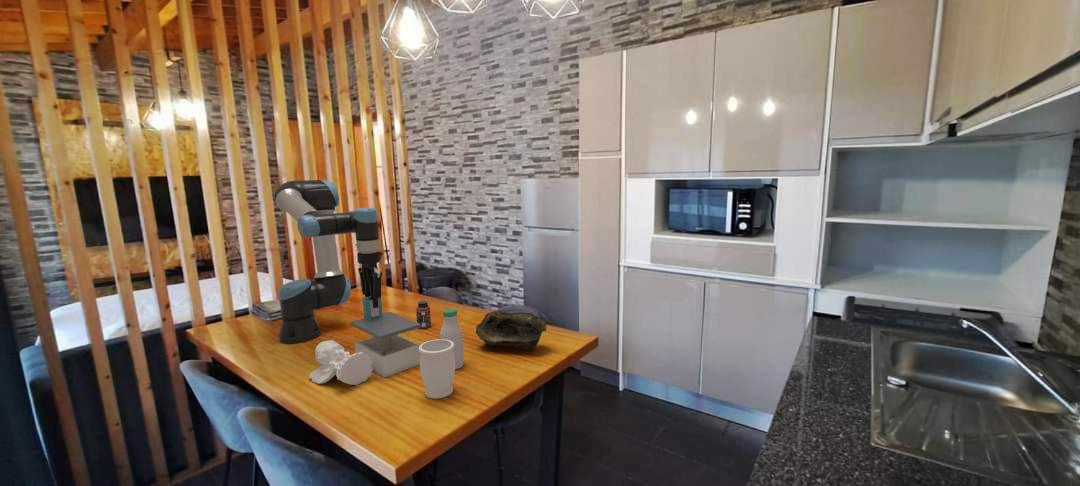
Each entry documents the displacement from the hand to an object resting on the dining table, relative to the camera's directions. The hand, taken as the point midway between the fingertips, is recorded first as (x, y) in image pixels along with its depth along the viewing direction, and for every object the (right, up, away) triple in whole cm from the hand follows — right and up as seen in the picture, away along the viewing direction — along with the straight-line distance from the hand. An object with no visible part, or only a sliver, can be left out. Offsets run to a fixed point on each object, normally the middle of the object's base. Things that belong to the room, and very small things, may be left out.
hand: (373, 315), depth 155 cm
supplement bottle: (+10, -11, +32) cm, 36 cm away
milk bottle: (+30, -17, -7) cm, 35 cm away
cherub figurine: (-5, -19, -15) cm, 24 cm away
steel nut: (+2, -15, -2) cm, 16 cm away
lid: (+6, -3, -5) cm, 9 cm away
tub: (+7, -16, -3) cm, 18 cm away
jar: (+30, -19, -25) cm, 44 cm away
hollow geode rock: (+50, -14, +8) cm, 53 cm away
